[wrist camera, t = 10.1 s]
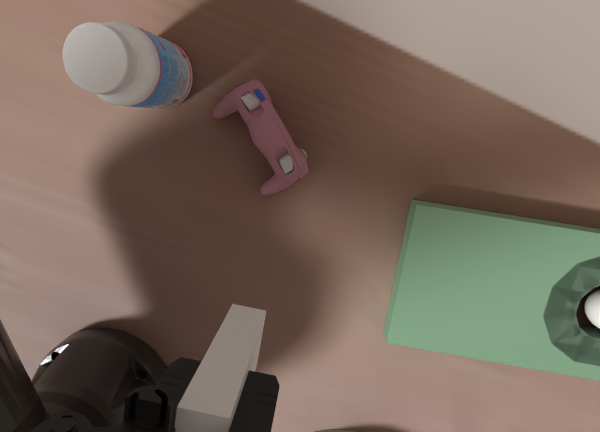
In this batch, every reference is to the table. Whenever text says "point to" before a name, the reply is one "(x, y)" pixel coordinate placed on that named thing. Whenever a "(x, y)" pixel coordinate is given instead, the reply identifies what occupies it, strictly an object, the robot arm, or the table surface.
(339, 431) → the dog bowl
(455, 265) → the mat
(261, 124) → the video game controller
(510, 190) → the table surface
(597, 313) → the ball
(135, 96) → the pill bottle
